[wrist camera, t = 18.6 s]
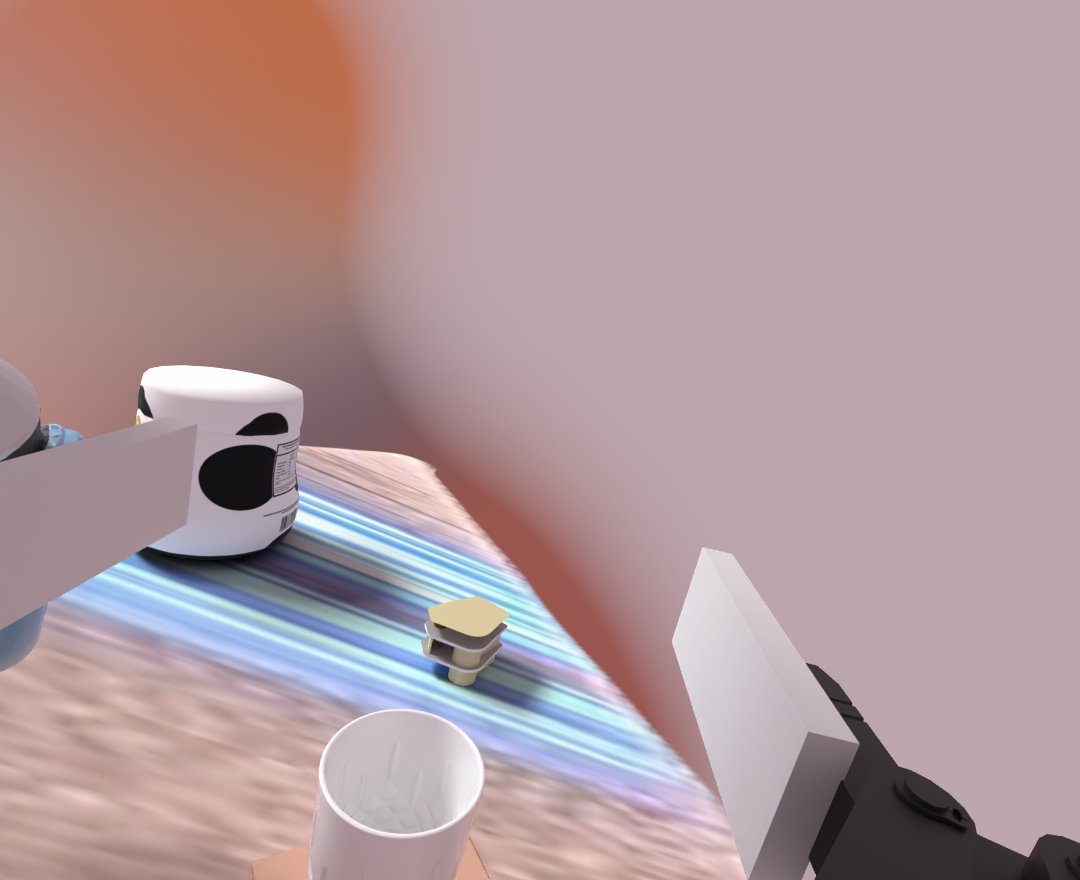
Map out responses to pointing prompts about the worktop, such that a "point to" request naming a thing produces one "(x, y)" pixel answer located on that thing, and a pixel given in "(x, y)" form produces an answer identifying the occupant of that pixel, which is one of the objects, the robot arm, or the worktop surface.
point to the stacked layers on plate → (464, 637)
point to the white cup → (395, 799)
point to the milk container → (230, 457)
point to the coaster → (288, 871)
